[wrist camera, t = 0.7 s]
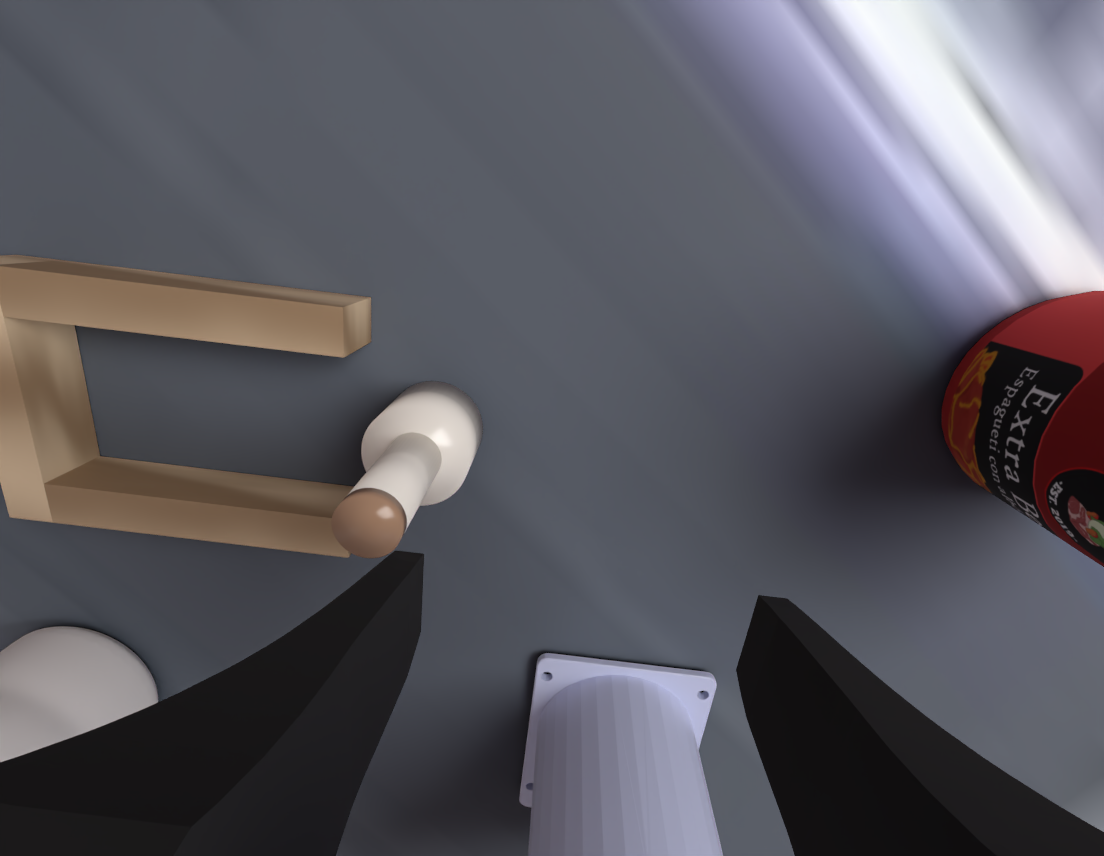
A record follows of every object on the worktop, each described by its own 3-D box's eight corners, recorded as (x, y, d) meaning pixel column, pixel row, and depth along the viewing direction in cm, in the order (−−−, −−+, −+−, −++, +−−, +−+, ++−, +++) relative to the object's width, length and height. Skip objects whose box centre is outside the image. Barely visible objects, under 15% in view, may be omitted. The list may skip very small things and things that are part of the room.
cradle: (371, 523, 23) (348, 557, 20) (68, 486, 23) (9, 517, 20) (370, 297, 19) (343, 307, 17) (16, 254, 19) (-61, 259, 17)
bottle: (479, 474, 22) (433, 594, 15) (389, 463, 22) (299, 578, 15) (486, 387, 20) (438, 473, 13) (390, 375, 20) (292, 455, 13)
